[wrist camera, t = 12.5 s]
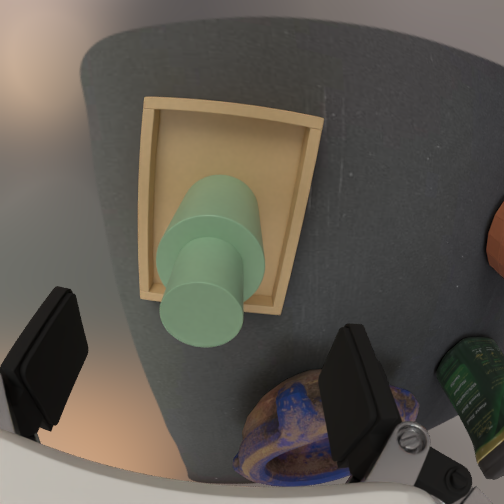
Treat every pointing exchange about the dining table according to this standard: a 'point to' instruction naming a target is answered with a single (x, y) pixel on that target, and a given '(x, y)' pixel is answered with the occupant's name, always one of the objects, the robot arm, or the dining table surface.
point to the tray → (232, 164)
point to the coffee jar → (478, 397)
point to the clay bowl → (496, 242)
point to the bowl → (296, 435)
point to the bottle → (210, 261)
